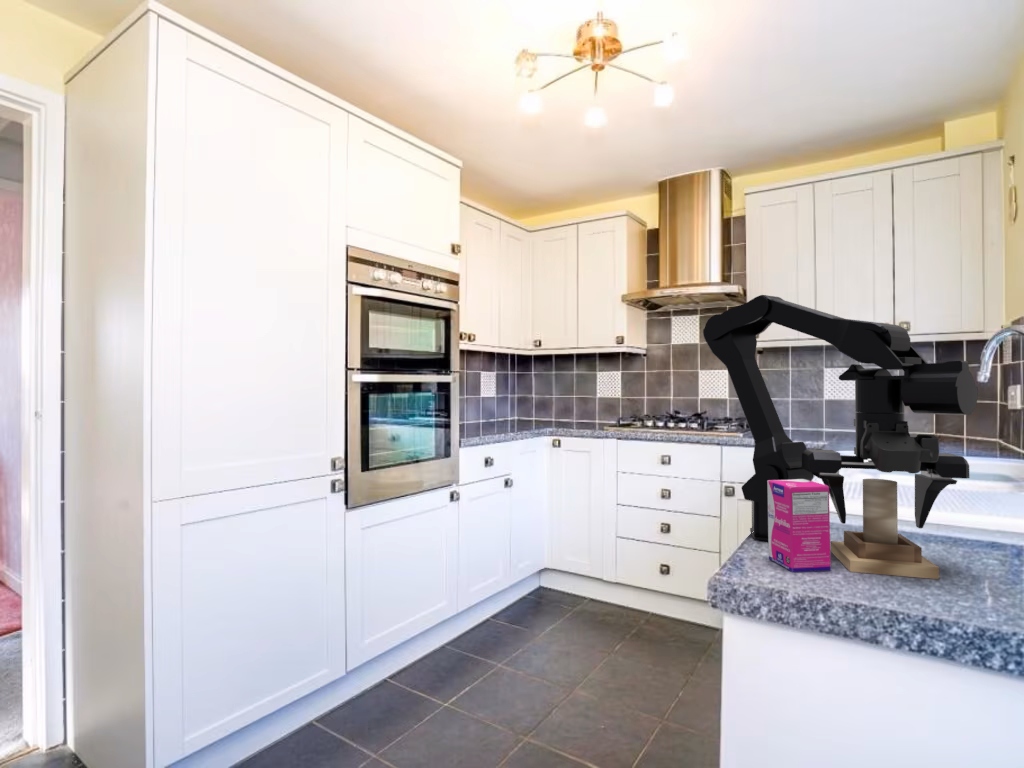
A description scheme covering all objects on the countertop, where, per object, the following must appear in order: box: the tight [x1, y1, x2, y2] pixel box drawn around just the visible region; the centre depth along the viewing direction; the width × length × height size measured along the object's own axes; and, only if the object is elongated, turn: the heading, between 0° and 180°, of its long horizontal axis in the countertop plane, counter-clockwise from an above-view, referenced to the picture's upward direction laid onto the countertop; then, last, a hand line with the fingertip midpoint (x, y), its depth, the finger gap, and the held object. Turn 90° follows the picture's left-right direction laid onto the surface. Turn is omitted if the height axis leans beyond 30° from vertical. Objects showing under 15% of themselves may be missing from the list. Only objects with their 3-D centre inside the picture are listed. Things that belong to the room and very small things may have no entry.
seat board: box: [830, 530, 940, 580], centre depth 77 cm, size 10×10×4 cm
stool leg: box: [862, 478, 899, 545], centre depth 77 cm, size 4×4×10 cm
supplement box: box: [767, 479, 832, 573], centre depth 76 cm, size 6×6×12 cm
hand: (880, 525), depth 77 cm, fingers open, 9 cm apart
